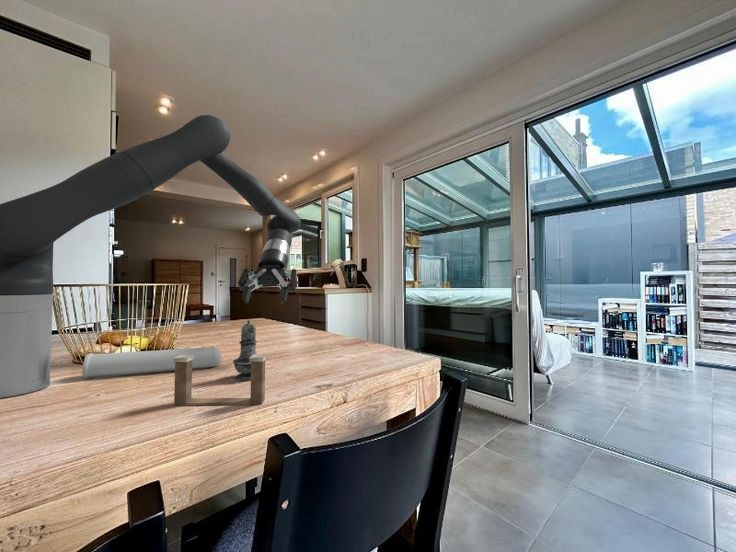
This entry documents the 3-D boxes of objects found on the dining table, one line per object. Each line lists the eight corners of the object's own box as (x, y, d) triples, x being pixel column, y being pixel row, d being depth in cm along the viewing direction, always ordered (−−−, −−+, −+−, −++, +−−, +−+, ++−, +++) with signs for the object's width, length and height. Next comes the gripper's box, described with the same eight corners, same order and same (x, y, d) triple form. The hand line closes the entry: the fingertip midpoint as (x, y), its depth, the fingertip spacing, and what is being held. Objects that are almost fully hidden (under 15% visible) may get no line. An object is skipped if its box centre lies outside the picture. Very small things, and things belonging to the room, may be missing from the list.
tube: (221, 347, 78) (93, 354, 68) (222, 343, 74) (84, 351, 63) (221, 369, 77) (89, 380, 66) (221, 367, 72) (80, 379, 62)
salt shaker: (256, 371, 70) (257, 317, 70) (266, 378, 66) (267, 320, 66) (228, 376, 66) (229, 319, 67) (237, 383, 62) (238, 322, 62)
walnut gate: (172, 405, 51) (173, 358, 51) (179, 400, 53) (180, 355, 53) (262, 404, 51) (263, 357, 52) (266, 399, 54) (266, 354, 54)
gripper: (246, 247, 86) (229, 290, 74) (299, 248, 87) (290, 290, 75) (252, 267, 91) (237, 310, 80) (301, 268, 92) (294, 311, 80)
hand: (263, 300), depth 77 cm, fingers open, 8 cm apart
